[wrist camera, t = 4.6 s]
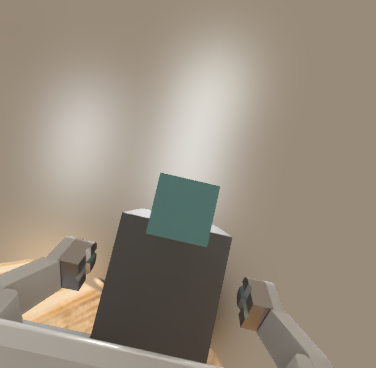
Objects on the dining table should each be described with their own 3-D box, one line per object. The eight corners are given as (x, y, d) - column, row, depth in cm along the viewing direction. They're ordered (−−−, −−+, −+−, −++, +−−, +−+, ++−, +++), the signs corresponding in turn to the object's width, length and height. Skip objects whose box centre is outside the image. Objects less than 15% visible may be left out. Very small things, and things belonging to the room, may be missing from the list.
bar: (207, 247, 13) (220, 186, 14) (145, 233, 13) (160, 172, 14) (189, 217, 37) (194, 195, 38) (167, 212, 37) (172, 190, 38)
